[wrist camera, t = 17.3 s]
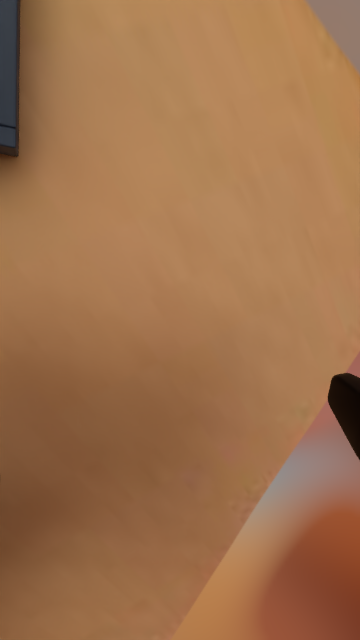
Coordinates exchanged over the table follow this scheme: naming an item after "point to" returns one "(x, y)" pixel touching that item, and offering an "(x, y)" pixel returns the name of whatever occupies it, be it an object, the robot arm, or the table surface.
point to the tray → (9, 76)
